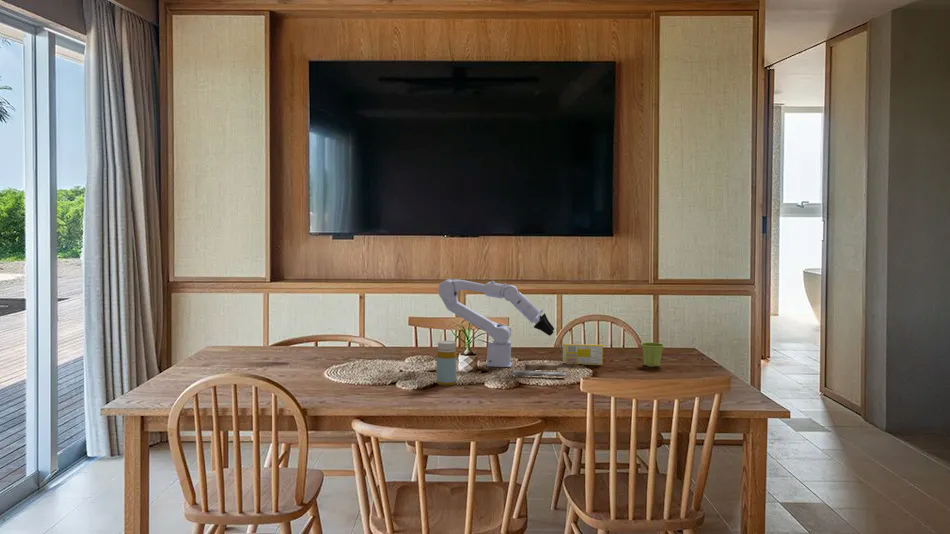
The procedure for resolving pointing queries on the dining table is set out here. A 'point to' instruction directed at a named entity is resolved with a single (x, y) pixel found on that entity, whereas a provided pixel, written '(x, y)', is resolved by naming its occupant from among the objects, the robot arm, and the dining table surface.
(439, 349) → the bottle
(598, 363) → the candy box
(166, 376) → the dining table surface
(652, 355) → the plant pot
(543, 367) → the plank
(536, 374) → the floor strip
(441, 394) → the dining table surface
